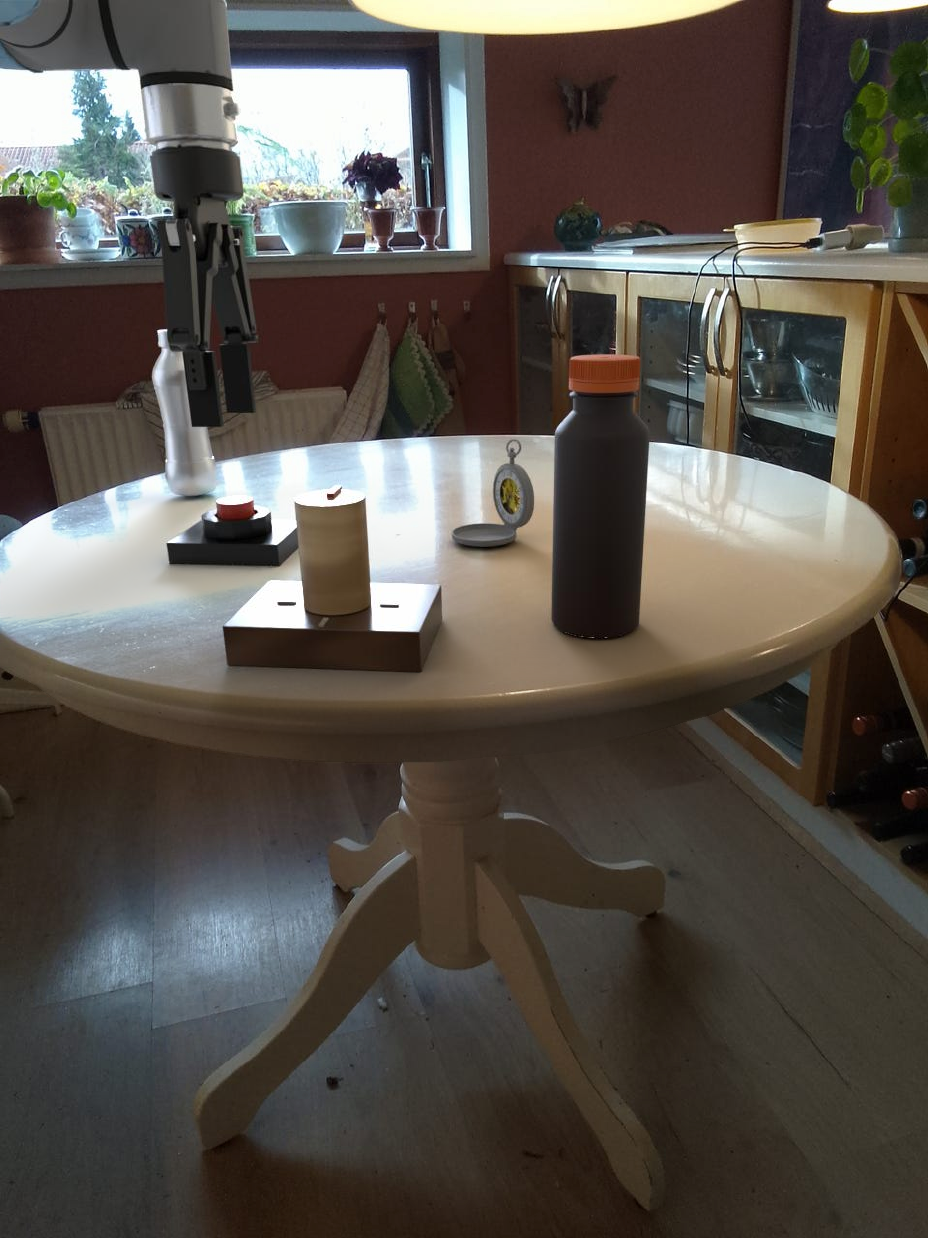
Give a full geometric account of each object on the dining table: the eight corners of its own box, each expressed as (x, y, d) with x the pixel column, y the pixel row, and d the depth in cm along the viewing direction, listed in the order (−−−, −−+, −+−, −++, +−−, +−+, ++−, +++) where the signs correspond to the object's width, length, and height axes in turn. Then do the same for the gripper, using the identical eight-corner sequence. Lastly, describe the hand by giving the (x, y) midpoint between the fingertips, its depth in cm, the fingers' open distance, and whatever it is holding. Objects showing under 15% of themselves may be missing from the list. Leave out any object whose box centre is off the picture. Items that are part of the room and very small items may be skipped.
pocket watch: (440, 546, 90) (437, 446, 86) (476, 525, 97) (474, 432, 93) (515, 555, 87) (515, 452, 83) (546, 533, 94) (547, 437, 90)
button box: (169, 564, 86) (163, 524, 84) (205, 538, 94) (201, 501, 93) (279, 567, 85) (275, 526, 83) (306, 540, 93) (303, 502, 91)
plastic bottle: (168, 503, 109) (144, 332, 102) (167, 491, 115) (144, 329, 108) (222, 498, 111) (202, 330, 104) (218, 487, 117) (199, 327, 110)
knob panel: (226, 665, 63) (221, 624, 62) (272, 615, 73) (268, 578, 71) (421, 672, 62) (419, 630, 60) (442, 620, 71) (441, 582, 70)
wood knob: (363, 616, 63) (356, 502, 60) (295, 614, 64) (284, 501, 61) (377, 592, 68) (371, 485, 65) (314, 591, 69) (305, 485, 66)
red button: (212, 521, 87) (209, 504, 86) (225, 512, 90) (223, 495, 89) (247, 522, 86) (245, 504, 86) (260, 512, 90) (258, 495, 89)
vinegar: (541, 634, 67) (545, 361, 60) (562, 605, 73) (568, 352, 66) (630, 645, 65) (646, 362, 58) (645, 613, 71) (661, 353, 64)
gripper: (186, 130, 66) (222, 438, 75) (275, 161, 85) (296, 403, 94) (91, 134, 67) (137, 437, 75) (200, 164, 86) (227, 403, 95)
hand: (225, 418), depth 85 cm, fingers open, 8 cm apart
